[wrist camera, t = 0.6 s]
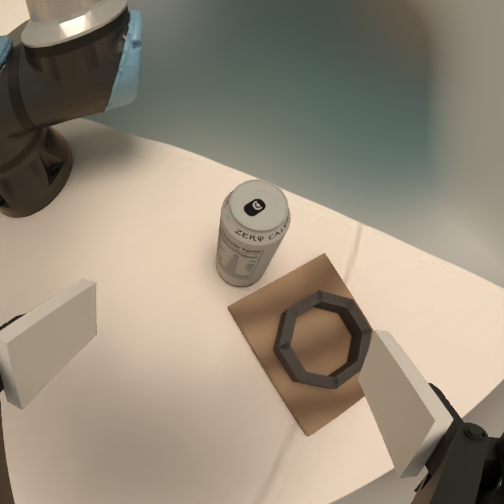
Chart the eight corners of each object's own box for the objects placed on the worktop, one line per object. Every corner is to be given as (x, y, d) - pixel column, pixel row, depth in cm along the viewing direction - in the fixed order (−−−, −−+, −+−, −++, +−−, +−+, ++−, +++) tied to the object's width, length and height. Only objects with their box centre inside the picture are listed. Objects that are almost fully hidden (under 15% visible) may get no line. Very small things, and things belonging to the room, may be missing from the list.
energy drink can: (274, 269, 40) (309, 212, 27) (235, 298, 38) (254, 252, 25) (244, 233, 42) (264, 162, 28) (205, 259, 40) (207, 195, 26)
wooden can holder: (227, 308, 38) (230, 300, 34) (321, 256, 42) (332, 243, 38) (305, 434, 33) (317, 440, 29) (391, 370, 38) (409, 368, 34)
